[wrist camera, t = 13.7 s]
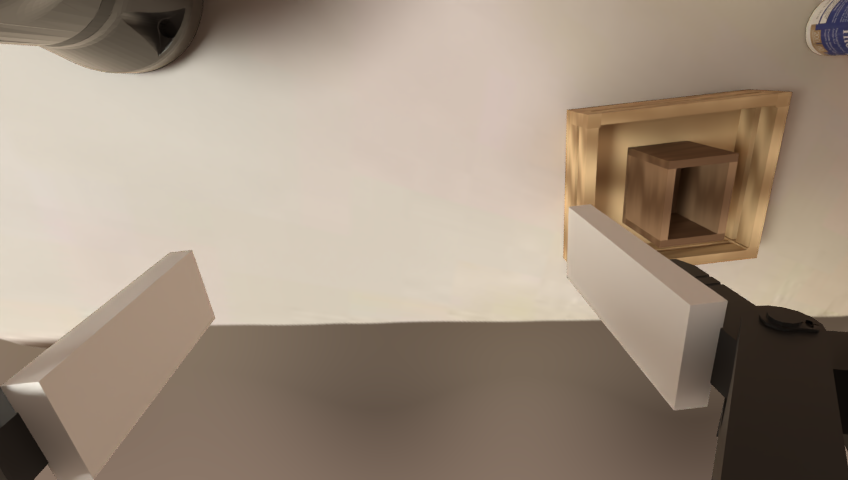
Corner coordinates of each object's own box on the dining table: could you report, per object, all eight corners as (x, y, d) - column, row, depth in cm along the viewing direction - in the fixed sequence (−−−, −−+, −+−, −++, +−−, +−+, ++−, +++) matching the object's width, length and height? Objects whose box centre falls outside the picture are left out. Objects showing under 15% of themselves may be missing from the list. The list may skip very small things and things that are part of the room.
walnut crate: (627, 147, 42) (669, 161, 36) (687, 140, 42) (739, 153, 36) (622, 222, 45) (659, 247, 39) (677, 215, 45) (723, 240, 39)
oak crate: (566, 110, 41) (588, 114, 37) (748, 89, 41) (792, 91, 37) (563, 257, 47) (581, 278, 43) (721, 239, 47) (756, 257, 43)
